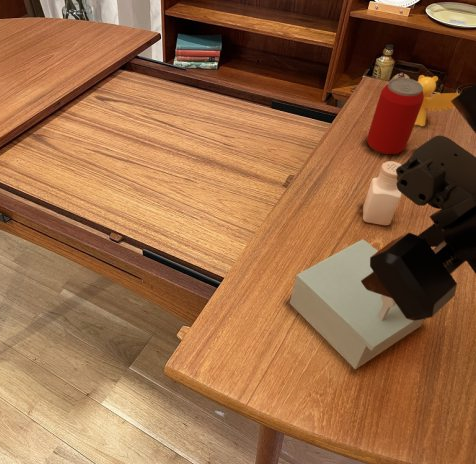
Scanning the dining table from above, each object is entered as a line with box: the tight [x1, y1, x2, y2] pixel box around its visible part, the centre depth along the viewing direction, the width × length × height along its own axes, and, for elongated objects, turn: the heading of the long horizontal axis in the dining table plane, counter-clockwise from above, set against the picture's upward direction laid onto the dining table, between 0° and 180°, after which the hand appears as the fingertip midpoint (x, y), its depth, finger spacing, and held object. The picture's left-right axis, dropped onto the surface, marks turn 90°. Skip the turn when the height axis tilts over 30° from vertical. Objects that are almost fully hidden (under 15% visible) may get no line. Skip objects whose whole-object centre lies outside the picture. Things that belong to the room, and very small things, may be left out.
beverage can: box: [366, 77, 424, 155], centre depth 88 cm, size 7×7×12 cm
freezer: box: [289, 278, 425, 370], centre depth 64 cm, size 12×12×5 cm
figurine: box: [414, 74, 461, 127], centre depth 96 cm, size 12×12×9 cm
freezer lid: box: [295, 238, 418, 351], centre depth 60 cm, size 12×12×5 cm
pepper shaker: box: [362, 160, 402, 226], centre depth 75 cm, size 4×4×10 cm
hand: (392, 262), depth 52 cm, fingers open, 9 cm apart
